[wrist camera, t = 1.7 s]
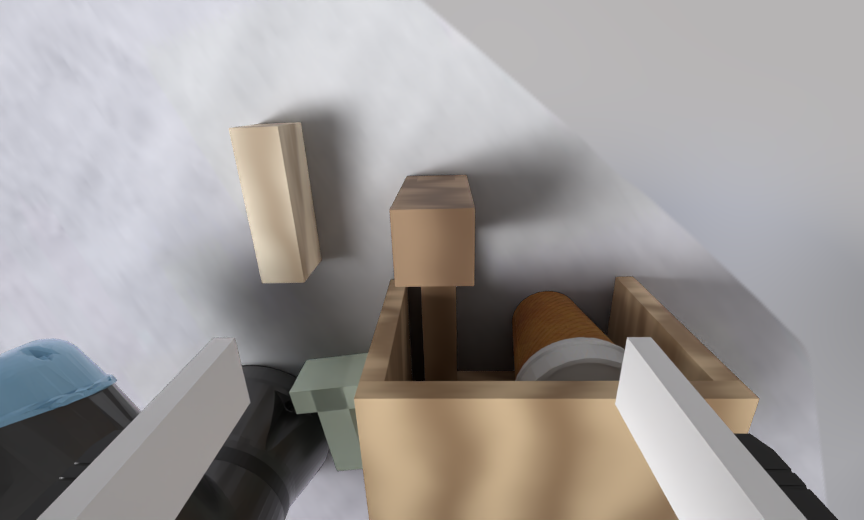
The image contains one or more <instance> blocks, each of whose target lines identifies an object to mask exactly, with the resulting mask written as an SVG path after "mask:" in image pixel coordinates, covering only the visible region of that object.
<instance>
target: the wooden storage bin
mask: <svg viewBox="0 0 864 520" xmlns="http://www.w3.org/2000/svg"><path fill="white" fill-rule="evenodd" d="M607 337H608V338H609V339H610V340H611V341H612V342H613V343H614V344H615V345H617V346H620V347H622V348H623V349H625V347H626V341H627V337H651V338H652V339H653V340H654V341H655V342H656V343H657V345H658V346H659V347H660V348H661V349H662V350H663V352H664V353H665V354H666V355H667V356H668V358H669V359H670V360H671V361H672V362H673V363H674V365H675V366H676V367H677V368H678V369H679V370H680V372H681V373H682V374H683V375H684V376H685V377H686V379H687V380H688V381H689V382H690V383H691V384H692V386H693V387H694V388H695V389H696V390H697V391H698V393H699V394H700V395H701V396H702V397H703V398H704V400H705V401H706V402H707V403H708V404H709V405H710V407H711V408H712V409H713V410H714V411H715V412H716V414H717V415H718V416H719V417H720V418H721V419H722V421H723V422H724V423H725V424H726V425H727V427H728V428H729V429H730V430H731V431H732V432H733V433H740V434H748V431H749V428H750V425H751V422H752V419H753V416H754V414H755V411H756V408H757V405H758V402H759V398H758V397H757V396H756V395H755V394H754V393H753V392H752V391H751V390H750V389H749V388H748V387H747V386H746V385H745V384H744V383H743V382H742V381H741V380H740V379H739V378H738V377H736V376H735V375H734V374H733V373H732V372H731V371H730V370H729V369H728V368H727V367H726V366H725V365H724V364H723V363H722V362H721V361H720V360H719V359H718V358H717V357H716V356H715V355H714V354H713V353H712V352H711V351H710V350H708V349H707V348H706V347H705V346H704V345H703V344H702V343H701V342H700V341H699V340H698V339H697V338H696V337H695V336H694V335H693V334H692V333H691V332H690V331H689V330H688V329H687V328H686V327H685V326H684V325H683V324H681V323H680V322H679V321H678V320H677V319H676V318H675V317H674V316H673V315H672V314H671V313H670V312H669V311H668V310H667V309H666V308H665V307H664V306H663V305H662V304H661V303H660V302H659V301H658V300H657V299H656V298H655V297H653V296H652V295H651V294H650V293H649V292H648V291H647V290H646V289H645V288H644V287H643V286H642V285H641V284H640V283H639V282H638V281H637V280H636V279H635V278H634V277H616V279H615V286H614V292H613V299H612V305H611V312H610V319H609V325H608V332H607ZM618 385H619V381H413V376H412V359H411V342H410V324H409V307H408V290H407V287H395V280H391V281H390V284H389V287H388V290H387V293H386V297H385V300H384V303H383V306H382V310H381V313H380V316H379V319H378V323H377V326H376V329H375V332H374V335H373V339H372V342H371V345H370V348H369V352H368V355H367V358H366V361H365V365H364V368H363V371H362V374H361V377H360V381H359V384H358V387H357V390H356V394H355V397H354V403H355V411H356V419H357V427H358V435H359V443H360V450H361V458H362V466H363V474H364V482H365V490H366V498H367V506H368V514H369V520H679V519H678V517H677V516H676V514H675V512H674V510H673V508H672V507H671V505H670V503H669V501H668V499H667V497H666V496H665V494H664V492H663V490H662V488H661V487H660V485H659V483H658V481H657V479H656V478H655V476H654V474H653V472H652V470H651V468H650V467H649V465H648V463H647V461H646V459H645V458H644V456H643V454H642V452H641V450H640V448H639V447H638V445H637V443H636V441H635V439H634V438H633V436H632V434H631V432H630V430H629V428H628V427H627V425H626V423H625V421H624V419H623V418H622V416H621V414H620V412H619V410H618V408H617V407H616V405H615V402H616V396H617V391H618Z"/></svg>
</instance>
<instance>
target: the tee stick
mask: <svg viewBox="0 0 864 520" xmlns="http://www.w3.org/2000/svg"><path fill="white" fill-rule="evenodd" d="M367 355H368V353H362V354H353V355H345V356H336V357H327V358H319V359H310V360H306V362H305V364H304V366H303V368H302V369H301V371H300V373H299V375H298V377H297V379H296V381H295V383H294V384H293V386H292V388H291V390H290V392H289V394H290V397H291V400H292V402H293V405H294V408H295V411H296V414H303V413H313V412H318V415H319V418H320V421H321V424H322V427H323V430H324V433H325V436H326V439H327V442H328V445H329V448H330V452H331V455H332V458H333V461H334V464H335V467H336V470H337V471H344V470H356V469H363V466H362V458H361V450H360V443H359V435H358V427H357V419H356V411H355V403H354V397H355V394H356V390H357V387H358V384H359V381H360V377H361V374H362V371H363V368H364V365H365V361H366V358H367Z"/></svg>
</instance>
